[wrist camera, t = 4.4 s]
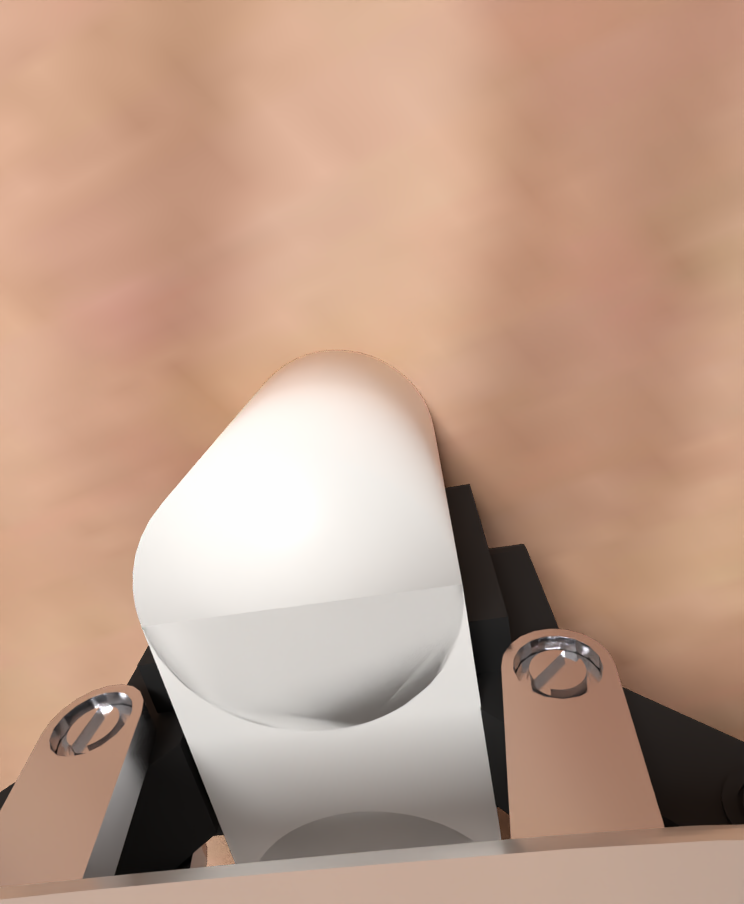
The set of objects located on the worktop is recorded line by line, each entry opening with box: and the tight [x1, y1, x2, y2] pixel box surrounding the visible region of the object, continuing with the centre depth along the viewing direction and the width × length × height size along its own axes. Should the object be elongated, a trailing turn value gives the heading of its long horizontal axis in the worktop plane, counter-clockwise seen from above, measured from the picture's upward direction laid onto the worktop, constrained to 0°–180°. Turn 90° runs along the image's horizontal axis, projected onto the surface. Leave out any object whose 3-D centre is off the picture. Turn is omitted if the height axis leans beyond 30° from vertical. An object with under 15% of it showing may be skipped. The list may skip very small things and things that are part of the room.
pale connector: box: [133, 350, 501, 864], centre depth 10 cm, size 11×4×5 cm, turn 11°
